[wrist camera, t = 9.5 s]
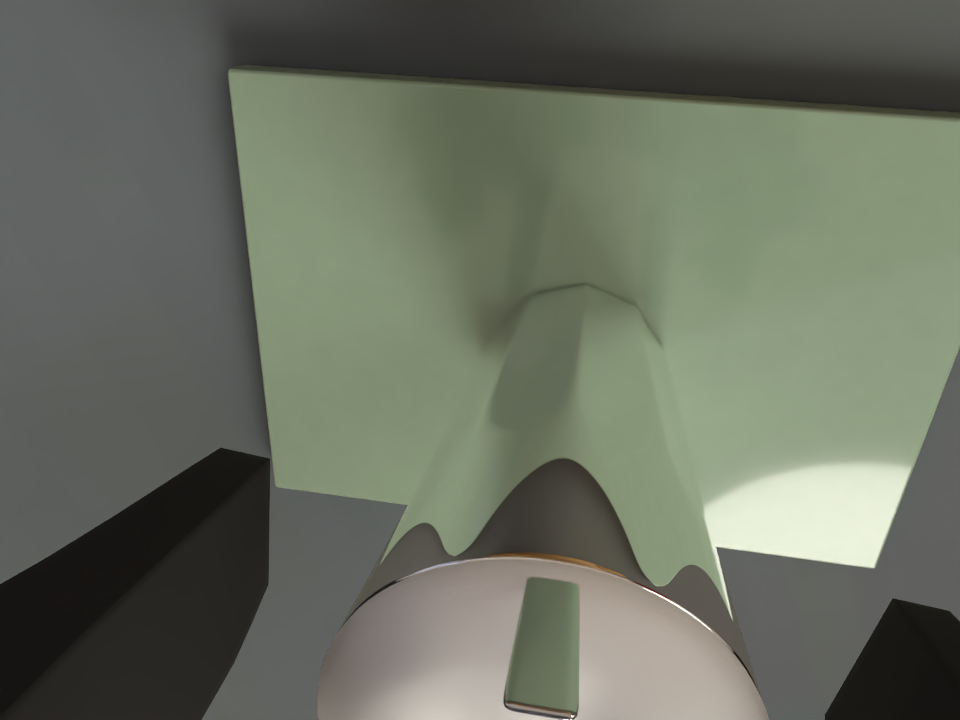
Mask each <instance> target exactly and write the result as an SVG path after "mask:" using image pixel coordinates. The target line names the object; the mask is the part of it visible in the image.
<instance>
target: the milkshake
mask: <svg viewBox="0 0 960 720" xmlns="http://www.w3.org/2000/svg"><path fill="white" fill-rule="evenodd" d="M317 710H318V720H769V717H768V714H767V711H766V708H765V706H764V703H763V701H762V699H761V696H760V692H759V689H758V685H757V682H756V679H755V675H754V672H753V669H752V665H751V662H750V659H749V655H748V652H747V649H746V646H745V642H744V639H743V636H742V632H741V629H740V626H739V622H738V619H737V616H736V613H735V609H734V606H733V603H732V599H731V596H730V593H729V590H728V586H727V583H726V580H725V576H724V573H723V570H722V566H721V563H720V560H719V557H718V553H717V550H716V547H715V543H714V540H713V537H712V533H711V530H710V526H709V522H708V519H707V515H706V511H705V506H704V502H703V498H702V494H701V490H700V486H699V482H698V479H697V475H696V471H695V467H694V463H693V459H692V455H691V451H690V447H689V443H688V439H687V436H686V432H685V428H684V424H683V420H682V416H681V412H680V408H679V404H678V401H677V397H676V393H675V389H674V385H673V381H672V377H671V373H670V370H669V366H668V362H667V358H666V355H665V352H664V350H663V348H662V346H661V345H660V343H659V341H658V340H657V338H656V336H655V335H654V333H653V331H652V330H651V328H650V326H649V325H648V323H647V321H646V320H645V318H644V316H643V314H642V313H641V311H640V309H639V308H638V306H636V305H634V304H631V303H629V302H626V301H624V300H621V299H619V298H617V297H614V296H612V295H610V294H607V293H605V292H602V291H600V290H598V289H595V288H593V287H591V286H589V285H580V286H575V287H570V288H565V289H559V290H554V291H548V292H543V293H537V294H532V295H530V296H529V297H528V299H527V300H526V301H525V302H524V303H523V304H522V305H521V306H520V307H519V308H518V309H517V310H516V311H515V312H514V313H513V314H512V315H511V316H510V317H509V318H508V319H507V320H506V321H505V322H504V324H503V325H502V326H501V327H500V328H499V329H498V330H497V331H496V332H495V334H494V335H493V337H492V339H491V341H490V343H489V345H488V347H487V349H486V351H485V353H484V355H483V357H482V359H481V361H480V363H479V365H478V367H477V369H476V371H475V373H474V375H473V377H472V379H471V381H470V383H469V385H468V387H467V389H466V391H465V393H464V395H463V397H462V399H461V401H460V403H459V405H458V407H457V409H456V411H455V413H454V415H453V417H452V419H451V421H450V423H449V425H448V427H447V429H446V431H445V433H444V435H443V437H442V439H441V441H440V443H439V445H438V447H437V449H436V451H435V453H434V455H433V457H432V459H431V461H430V463H429V465H428V468H427V470H426V472H425V474H424V476H423V478H422V480H421V482H420V484H419V486H418V488H417V489H416V491H415V493H414V495H413V497H412V499H411V501H410V503H409V504H408V506H407V508H406V510H405V512H404V513H403V515H402V517H401V519H400V521H399V522H398V524H397V526H396V528H395V530H394V532H393V533H392V535H391V537H390V539H389V541H388V542H387V544H386V546H385V548H384V550H383V551H382V553H381V555H380V557H379V559H378V560H377V562H376V564H375V566H374V568H373V569H372V571H371V573H370V575H369V577H368V578H367V580H366V582H365V584H364V586H363V587H362V589H361V591H360V593H359V595H358V596H357V598H356V600H355V602H354V604H353V605H352V607H351V609H350V611H349V613H348V615H347V616H346V618H345V620H344V622H343V624H342V626H341V627H340V629H339V631H338V633H337V635H336V636H335V638H334V639H333V641H332V643H331V645H330V647H329V648H328V651H327V653H326V655H325V658H324V661H323V664H322V668H321V672H320V677H319V684H318V698H317Z"/></svg>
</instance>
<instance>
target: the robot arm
mask: <svg viewBox="0 0 960 720" xmlns="http://www.w3.org/2000/svg"><path fill="white" fill-rule="evenodd" d="M269 502H270V459H268V458H264V457H260V456H255V455H251V454H246V453H242V452H237V451H233V450H228V449H224V448H220V449H218V450H217V451H215V452H213V453H212V454H210V455H209V456H207V457H205V458H204V459H202V460H200V461H199V462H197V463H196V464H194V465H192V466H191V467H189V468H188V469H186V470H185V471H183V472H182V473H180V474H178V475H177V476H175V477H174V478H172V479H171V480H169V481H168V482H166V483H165V484H163V485H161V486H160V487H158V488H157V489H155V490H154V491H152V492H151V493H149V494H148V495H146V496H144V497H143V498H141V499H140V500H138V501H137V502H135V503H134V504H132V505H130V506H129V507H127V508H126V509H124V510H123V511H121V512H120V513H118V514H116V515H115V516H113V517H112V518H110V519H108V520H107V521H105V522H104V523H102V524H100V525H99V526H97V527H96V528H94V529H92V530H91V531H89V532H87V533H86V534H84V535H83V536H81V537H79V538H78V539H76V540H75V541H73V542H71V543H70V544H68V545H66V546H65V547H63V548H62V549H60V550H58V551H57V552H55V553H54V554H52V555H50V556H49V557H47V558H45V559H44V560H42V561H40V562H39V563H37V564H35V565H33V566H32V567H30V568H28V569H26V570H24V571H23V572H21V573H19V574H17V575H16V576H14V577H12V578H10V579H9V580H7V581H5V582H3V583H2V584H0V720H201V719H202V718H203V716H204V714H205V713H206V711H207V709H208V707H209V706H210V704H211V702H212V700H213V699H214V697H215V695H216V693H217V692H218V690H219V688H220V687H221V685H222V683H223V681H224V680H225V678H226V676H227V674H228V672H229V671H230V669H231V667H232V665H233V664H234V662H235V659H236V657H237V655H238V653H239V651H240V648H241V646H242V644H243V642H244V639H245V637H246V635H247V633H248V631H249V628H250V626H251V624H252V621H253V619H254V617H255V614H256V612H257V610H258V607H259V605H260V603H261V600H262V598H263V595H264V593H265V591H266V588H267V586H268V573H269ZM825 720H960V621H959V620H958V619H957V618H956V617H955V616H954V615H953V614H952V613H951V612H950V611H947V610H942V609H938V608H933V607H929V606H924V605H920V604H916V603H911V602H907V601H902V600H898V599H892V601H891V602H890V604H889V606H888V608H887V609H886V611H885V613H884V614H883V616H882V618H881V620H880V621H879V623H878V625H877V626H876V628H875V630H874V632H873V633H872V635H871V637H870V639H869V640H868V642H867V644H866V645H865V647H864V649H863V651H862V652H861V654H860V656H859V657H858V659H857V661H856V663H855V664H854V666H853V668H852V669H851V671H850V673H849V675H848V676H847V678H846V680H845V681H844V683H843V685H842V687H841V688H840V690H839V692H838V693H837V695H836V697H835V699H834V700H833V702H832V704H831V705H830V707H829V709H828V711H827V712H826V714H825Z"/></svg>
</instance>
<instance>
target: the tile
mask: <svg viewBox="0 0 960 720" xmlns="http://www.w3.org/2000/svg"><path fill="white" fill-rule="evenodd" d="M228 81H229V89H230V98H231V107H232V115H233V124H234V133H235V142H236V150H237V159H238V168H239V176H240V185H241V194H242V203H243V211H244V220H245V229H246V237H247V246H248V255H249V263H250V272H251V281H252V290H253V298H254V307H255V316H256V324H257V333H258V342H259V351H260V359H261V368H262V377H263V385H264V394H265V403H266V411H267V420H268V429H269V438H270V446H271V455H272V464H273V472H274V481H275V486H276V487H280V488H287V489H294V490H301V491H309V492H316V493H323V494H331V495H338V496H345V497H353V498H360V499H367V500H374V501H382V502H389V503H396V504H404V505H408V504H409V503H410V501H411V499H412V497H413V495H414V493H415V491H416V489H417V488H418V486H419V484H420V482H421V480H422V478H423V476H424V474H425V472H426V470H427V468H428V465H429V463H430V461H431V459H432V457H433V455H434V453H435V451H436V449H437V447H438V445H439V443H440V441H441V439H442V437H443V435H444V433H445V431H446V429H447V427H448V425H449V423H450V421H451V419H452V417H453V415H454V413H455V411H456V409H457V407H458V405H459V403H460V401H461V399H462V397H463V395H464V393H465V391H466V389H467V387H468V385H469V383H470V381H471V379H472V377H473V375H474V373H475V371H476V369H477V367H478V365H479V363H480V361H481V359H482V357H483V355H484V353H485V351H486V349H487V347H488V345H489V343H490V341H491V339H492V337H493V335H494V334H495V332H496V331H497V330H498V329H499V328H500V327H501V326H502V325H503V324H504V322H505V321H506V320H507V319H508V318H509V317H510V316H511V315H512V314H513V313H514V312H515V311H516V310H517V309H518V308H519V307H520V306H521V305H522V304H523V303H524V302H525V301H526V300H527V299H528V297H529V296H530V295H532V294H537V293H543V292H548V291H554V290H559V289H565V288H570V287H575V286H580V285H589V286H591V287H593V288H595V289H598V290H600V291H602V292H605V293H607V294H610V295H612V296H614V297H617V298H619V299H621V300H624V301H626V302H629V303H631V304H634V305H636V306H638V308H639V309H640V311H641V313H642V314H643V316H644V318H645V320H646V321H647V323H648V325H649V326H650V328H651V330H652V331H653V333H654V335H655V336H656V338H657V340H658V341H659V343H660V345H661V346H662V348H663V350H664V352H665V355H666V358H667V362H668V366H669V370H670V373H671V377H672V381H673V385H674V389H675V393H676V397H677V401H678V404H679V408H680V412H681V416H682V420H683V424H684V428H685V432H686V436H687V439H688V443H689V447H690V451H691V455H692V459H693V463H694V467H695V471H696V475H697V479H698V482H699V486H700V490H701V494H702V498H703V502H704V506H705V511H706V515H707V519H708V522H709V526H710V530H711V533H712V537H713V540H714V543H715V547H718V548H725V549H732V550H740V551H747V552H754V553H762V554H769V555H776V556H783V557H791V558H798V559H805V560H813V561H820V562H827V563H835V564H842V565H849V566H856V567H864V568H871V569H873V568H875V567H876V564H877V562H878V559H879V556H880V554H881V551H882V549H883V546H884V543H885V541H886V538H887V536H888V533H889V530H890V528H891V525H892V523H893V520H894V517H895V515H896V512H897V509H898V507H899V504H900V502H901V499H902V496H903V494H904V491H905V489H906V486H907V483H908V481H909V478H910V475H911V473H912V470H913V468H914V465H915V462H916V460H917V457H918V455H919V452H920V449H921V447H922V444H923V442H924V439H925V436H926V434H927V431H928V428H929V426H930V423H931V421H932V418H933V415H934V413H935V410H936V408H937V405H938V402H939V400H940V397H941V394H942V392H943V389H944V387H945V384H946V381H947V379H948V376H949V374H950V371H951V368H952V366H953V363H954V361H955V358H956V355H957V353H958V350H959V347H960V113H959V112H944V111H929V110H914V109H899V108H884V107H869V106H854V105H839V104H824V103H809V102H794V101H779V100H764V99H749V98H734V97H719V96H705V95H690V94H675V93H660V92H645V91H630V90H615V89H600V88H585V87H570V86H555V85H540V84H525V83H510V82H495V81H480V80H465V79H450V78H435V77H420V76H405V75H390V74H375V73H360V72H345V71H330V70H316V69H301V68H286V67H271V66H256V65H240V66H237V67H234V68H231V69H229V70H228Z"/></svg>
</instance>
